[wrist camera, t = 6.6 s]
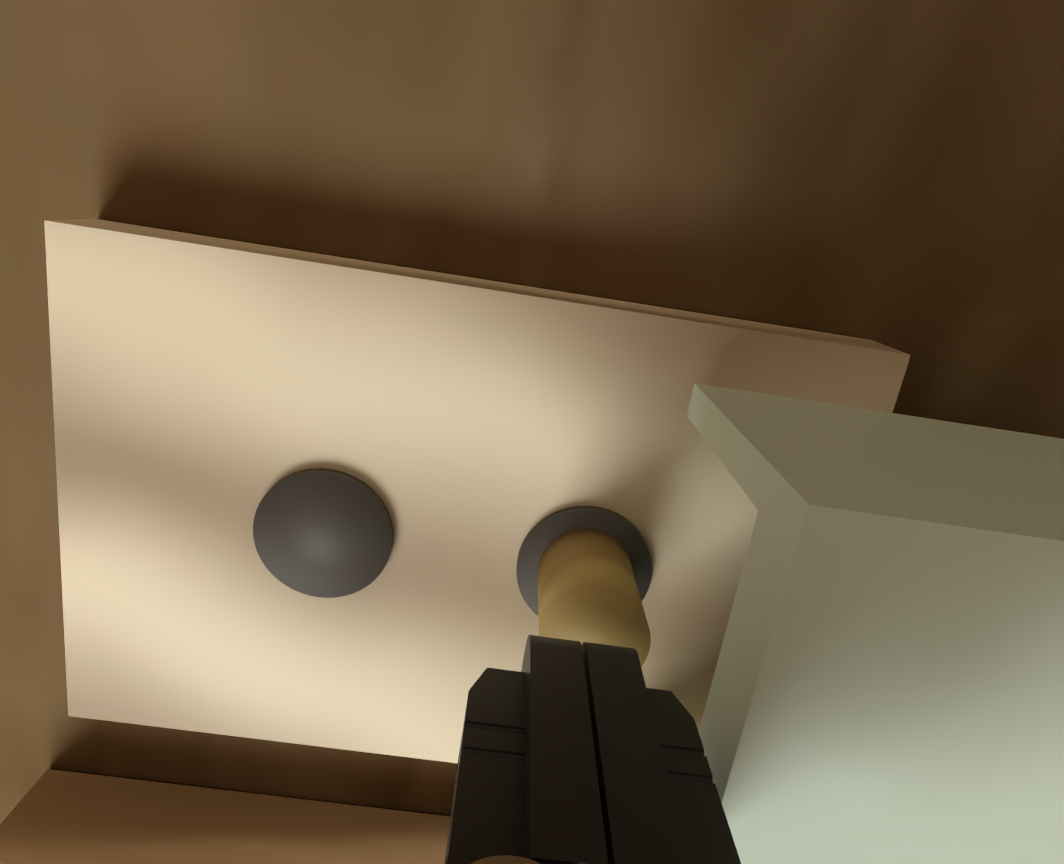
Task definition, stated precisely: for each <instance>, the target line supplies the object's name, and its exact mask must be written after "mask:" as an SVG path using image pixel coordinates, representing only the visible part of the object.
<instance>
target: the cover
mask: <svg viewBox="0 0 1064 864" xmlns="http://www.w3.org/2000/svg"><path fill="white" fill-rule="evenodd" d="M687 417H688V418H689V420H690V421H691V422H692V424H693V425H694V426H695V428H696V429H697V430H698V432H699V433H700V434H701V435H702V437H703V438H704V439H705V441H706V442H707V443H708V445H709V446H710V447H711V449H712V450H713V451H714V453H715V454H716V455H717V457H718V458H719V459H720V461H721V462H722V463H723V465H724V466H725V467H726V469H727V470H728V471H729V472H730V474H731V475H732V476H733V478H734V479H735V480H736V482H737V483H738V484H739V486H740V487H741V488H742V490H743V491H744V492H745V494H746V495H747V496H748V498H749V499H750V500H751V502H752V503H753V504H754V506H755V507H756V508H757V509H758V514H757V517H756V521H755V525H754V528H753V532H752V536H751V539H750V543H749V547H748V551H747V554H746V558H745V562H744V565H743V569H742V573H741V576H740V580H739V584H738V588H737V591H736V595H735V599H734V602H733V606H732V610H731V613H730V617H729V621H728V625H727V628H726V632H725V636H724V639H723V643H722V647H721V650H720V654H719V658H718V662H717V665H716V669H715V673H714V676H713V680H712V684H711V687H710V691H709V695H708V699H707V702H706V706H705V710H704V713H703V717H702V721H701V724H700V728H699V735H700V738H701V741H702V744H703V747H704V756H706V757H707V760H708V763H709V766H710V769H711V772H712V775H713V783H715V784H716V787H717V790H718V794H719V797H720V800H721V803H722V806H723V809H724V812H725V815H726V818H727V821H728V824H729V828H730V831H731V834H732V837H733V840H734V843H735V846H736V849H737V852H738V855H739V858H740V862H741V864H1064V439H1061V438H1054V437H1048V436H1041V435H1035V434H1028V433H1021V432H1015V431H1008V430H1001V429H995V428H988V427H982V426H975V425H968V424H962V423H955V422H948V421H942V420H935V419H929V418H922V417H915V416H909V415H902V414H896V413H889V412H882V411H876V410H869V409H862V408H856V407H849V406H843V405H836V404H829V403H823V402H816V401H809V400H803V399H796V398H790V397H783V396H776V395H770V394H763V393H756V392H750V391H743V390H737V389H730V388H723V387H717V386H710V385H703V384H697V383H694V386H693V391H692V395H691V400H690V404H689V408H688V413H687Z"/></svg>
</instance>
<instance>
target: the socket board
mask: <svg viewBox="0 0 1064 864" xmlns="http://www.w3.org/2000/svg"><path fill="white" fill-rule="evenodd" d="M449 823H450V816H441V815H433V814H424V813H416V812H407V811H399V810H391V809H382V808H374V807H365V806H357V805H348V804H340V803H331V802H323V801H314V800H306V799H297V798H289V797H280V796H272V795H264V794H255V793H247V792H238V791H230V790H221V789H213V788H204V787H196V786H187V785H179V784H170V783H162V782H153V781H145V780H137V779H128V778H120V777H111V776H103V775H94V774H86V773H77V772H69V771H60V770H52V769H47V771H46V772H45V773H44V774H43V775H42V776H41V778H40V779H39V780H38V781H37V782H36V783H35V785H34V786H33V787H32V788H31V789H30V790H29V792H28V793H27V794H26V795H25V796H24V797H23V799H22V800H21V801H20V802H19V803H18V804H17V806H16V807H15V808H14V809H13V810H12V811H11V813H10V814H9V815H8V816H7V817H6V818H5V820H4V821H3V822H2V823H1V824H0V864H444V862H445V854H446V847H447V839H448V831H449Z"/></svg>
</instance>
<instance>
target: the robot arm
mask: <svg viewBox="0 0 1064 864" xmlns="http://www.w3.org/2000/svg"><path fill="white" fill-rule="evenodd" d="M444 864H741V862H740V858H739V855H738V852H737V849H736V846H735V843H734V840H733V837H732V834H731V831H730V828H729V824H728V821H727V818H726V815H725V812H724V809H723V806H722V803H721V800H720V797H719V794H718V790H717V787H716V784H715V783H713V775H712V772H711V769H710V766H709V763H708V760H707V757H706V756H704V747H703V744H702V741H701V738H700V735H699V732H698V729H697V726H696V723H695V719H694V718H693V717H692V716H691V714H690V713H689V712H688V711H687V710H686V708H685V707H684V706H683V705H682V704H681V702H680V701H679V700H678V699H677V698H676V696H675V695H674V694H673V693H672V692H671V691H668V690H660V689H652V688H646V685H645V681H644V677H643V673H642V669H641V664H640V660H639V656H638V653H637V651H636V649H635V648H627V647H620V646H612V645H604V644H597V643H589V642H583V643H582V645H581V642H580V641H573V640H565V639H557V638H550V637H542V636H535V635H529V636H528V638H527V642H526V647H525V652H524V658H523V663H522V669H521V672H518V671H510V670H503V669H495V668H486V670H485V671H484V672H483V673H482V675H481V676H480V677H479V678H478V680H477V681H476V682H475V683H474V685H473V686H472V687H471V688H470V690H469V691H468V698H467V705H466V711H465V718H464V724H463V731H462V738H461V744H460V751H459V758H458V764H457V771H456V777H455V784H454V792H453V800H452V808H451V815H450V823H449V831H448V839H447V847H446V854H445V862H444Z"/></svg>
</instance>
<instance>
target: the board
mask: <svg viewBox="0 0 1064 864" xmlns="http://www.w3.org/2000/svg"><path fill="white" fill-rule="evenodd" d="M44 222H45V243H46V264H47V285H48V305H49V326H50V347H51V368H52V388H53V409H54V430H55V451H56V472H57V492H58V513H59V534H60V555H61V575H62V596H63V617H64V638H65V658H66V679H67V700H68V716H73V717H81V718H89V719H97V720H106V721H114V722H122V723H130V724H138V725H147V726H155V727H163V728H171V729H179V730H188V731H196V732H204V733H212V734H221V735H229V736H237V737H245V738H253V739H262V740H270V741H278V742H286V743H294V744H303V745H311V746H319V747H327V748H335V749H344V750H352V751H360V752H368V753H376V754H385V755H393V756H401V757H409V758H417V759H426V760H434V761H442V762H450V763H458V758H459V751H460V744H461V738H462V731H463V724H464V718H465V711H466V705H467V698H468V691H469V690H470V688H471V687H472V686H473V685H474V683H475V682H476V681H477V680H478V678H479V677H480V676H481V675H482V673H483V672H484V671H485V670H486V668H495V669H503V670H510V671H518V672H521V669H522V663H523V658H524V652H525V647H526V642H527V638H528V636H529V635H535V636H542V637H550V638H557V639H565V640H573V641H580V642H581V645H582V643H583V642H589V643H597V644H604V645H612V646H620V647H627V648H635V649H636V651H637V653H638V656H639V660H640V664H641V669H642V673H643V677H644V681H645V685H646V688H652V689H660V690H668V691H671V692H672V693H673V694H674V695H675V696H676V698H677V699H678V700H679V701H680V702H681V704H682V705H683V706H684V707H685V708H686V710H687V711H688V712H689V713H690V714H691V716H692V717H693V718H694V719H695V723H696V726H697V729H698V732H699V728H700V724H701V721H702V717H703V713H704V710H705V706H706V702H707V699H708V695H709V691H710V687H711V684H712V680H713V676H714V673H715V669H716V665H717V662H718V658H719V654H720V650H721V647H722V643H723V639H724V636H725V632H726V628H727V625H728V621H729V617H730V613H731V610H732V606H733V602H734V599H735V595H736V591H737V588H738V584H739V580H740V576H741V573H742V569H743V565H744V562H745V558H746V554H747V551H748V547H749V543H750V539H751V536H752V532H753V528H754V525H755V521H756V517H757V514H758V509H757V508H756V507H755V506H754V504H753V503H752V502H751V500H750V499H749V498H748V496H747V495H746V494H745V492H744V491H743V490H742V488H741V487H740V486H739V484H738V483H737V482H736V480H735V479H734V478H733V476H732V475H731V474H730V472H729V471H728V470H727V469H726V467H725V466H724V465H723V463H722V462H721V461H720V459H719V458H718V457H717V455H716V454H715V453H714V451H713V450H712V449H711V447H710V446H709V445H708V443H707V442H706V441H705V439H704V438H703V437H702V435H701V434H700V433H699V432H698V430H697V429H696V428H695V426H694V425H693V424H692V422H691V421H690V420H689V418H688V417H687V413H688V408H689V404H690V400H691V395H692V391H693V386H694V383H697V384H703V385H710V386H717V387H723V388H730V389H737V390H743V391H750V392H756V393H763V394H770V395H776V396H783V397H790V398H796V399H803V400H809V401H816V402H823V403H829V404H836V405H843V406H849V407H856V408H862V409H869V410H876V411H882V412H889V413H893V410H894V406H895V403H896V400H897V397H898V394H899V391H900V388H901V384H902V381H903V378H904V375H905V372H906V369H907V366H908V362H909V359H910V356H911V355H910V354H907V353H904V352H902V351H899V350H897V349H894V348H892V347H889V346H886V345H884V344H881V343H879V342H876V341H873V340H869V339H863V338H856V337H850V336H843V335H837V334H831V333H824V332H818V331H811V330H805V329H799V328H792V327H786V326H779V325H773V324H767V323H760V322H754V321H747V320H741V319H734V318H728V317H722V316H715V315H709V314H702V313H696V312H690V311H683V310H677V309H670V308H664V307H658V306H651V305H645V304H638V303H632V302H625V301H619V300H613V299H606V298H600V297H593V296H587V295H581V294H574V293H568V292H561V291H555V290H549V289H542V288H536V287H529V286H523V285H517V284H510V283H504V282H497V281H491V280H484V279H478V278H472V277H465V276H459V275H452V274H446V273H440V272H433V271H427V270H420V269H414V268H408V267H401V266H395V265H388V264H382V263H376V262H369V261H363V260H356V259H350V258H343V257H337V256H331V255H324V254H318V253H311V252H305V251H299V250H292V249H286V248H279V247H273V246H267V245H260V244H254V243H247V242H241V241H235V240H228V239H222V238H215V237H209V236H202V235H196V234H190V233H183V232H177V231H170V230H164V229H158V228H151V227H145V226H138V225H132V224H126V223H119V222H113V221H106V220H100V219H76V220H44Z"/></svg>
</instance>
